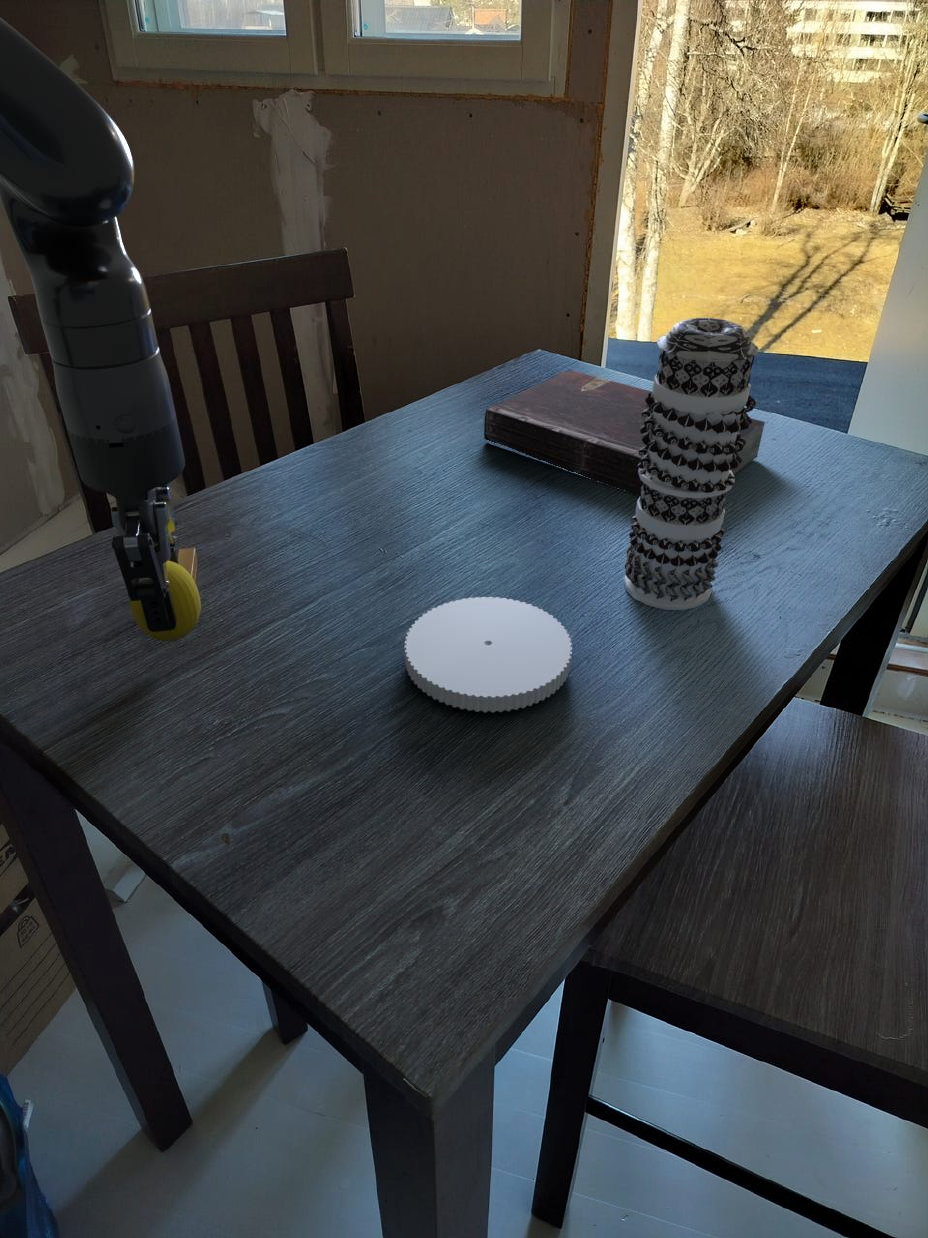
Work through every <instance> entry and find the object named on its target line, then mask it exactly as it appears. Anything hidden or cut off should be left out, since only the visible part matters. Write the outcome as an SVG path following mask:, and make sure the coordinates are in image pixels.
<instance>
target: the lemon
mask: <svg viewBox="0 0 928 1238" xmlns="http://www.w3.org/2000/svg"><path fill="white" fill-rule="evenodd" d="M166 568H167V575H168V581H170V587H169V589H170V593H171V598H172V602H173V606H174V611H175V615H176V619H177V622H176V627H175V629H173V630H168V631H159V632H152V631H150V630H149V629H148V628H147V624H146V620H145V616H144V612H143V608H142V604H141V600H138V601H131V600H130V597H129V596H128V600H129V601H128V603H129V608H130V611H131V615H132V616H133V619H134V621H135V623H136V625H137V626H138V628H139V629H140V630H141V631H142V632H143V633H144V634H146V635H147V636H148V637H151V638H152V639H155V640H158V641H165V642H172V643H173V642H177V641H178V640H180V639H182V638H184V637H185V636H187V635H189V633H191V632H192V631H193V630H194V628H195V627H196V625H197V624H198V622H199V619H200V615H201V611H202V610H201V609H202V603H201V596H200V593H199V589H198V586H197V584H196V582H194V580H193V578H192V576H191V575H190V574H189V572H188V571H187V570H186V569H185V568H184V567H182V566H180V565H179V564H177V563H175V562H172V561H167V562H166ZM142 579H146V578H142Z"/></svg>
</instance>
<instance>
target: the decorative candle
mask: <svg viewBox="0 0 928 1238" xmlns="http://www.w3.org/2000/svg"><path fill="white" fill-rule="evenodd" d="M656 344H657V346H658V348H659V349H660V354H659V357H658V361H657V363H658V370H657V372H656V374H655V376H654V377H653V383H652V391H651V392H652V394H653V396H654V397H651V393H649V394H647V395H646V396H645V402H646V403H647V404H646V409H645V410H643V412H642V417H643V418H644V419H645V420H644V425H643V426H642V427H641V428H640V432H641V434H643V435H642V436H641V440H642V442H643V447H642V448H640V449H639V455H640V456H641V459H640V463H639V464H638V466H637V467H639V470H638V473H639V476H640V479H641V481H643V482H642V485H641V496H639V498H638V499H637V500H636V508H635V515H633V516H632V517H631V519H630V522H631V531H630V532H629V538H630V539H629V544H630V545H629V546H628V547H627V549H626V561H625V562H624V563H625V564H624V568H625V570H624V573H625V574H624V577H623V584H624V589H625V591H626V592H627V593H628V594H629V595H630V596H631V597H632V598H633V599H634V600H636V601H639V602H640V603H642V604H644V605H645V606H648V607H652V608H656V609H661V610H665V611H685V610H686V611H687V610H690V609H694V608H698V607H700V606H702V605H703V604H705V603H706V602H708V601H709V598H710V597H711V594H712V591H713V584H712V582H714V581H716V576H715V574H716V568H718V567H719V562H718V561H717V558H718V557H719V552H720V551H721V550H722V547H723V546H722V544H721V542H722V540H723V538H722V537H724V536H725V533H726V531H725V529H724V528H723V527H724V526H723V525H724V524H723V523H724V517H725V513H726V509H725V503H726V498H727V493H728V492H729V491H731V490H732V488H733V486H734V484H735V480H736V477H735V474H734V475H733V473H732V471H731V469H735V468H737V467H739V464H740V463H741V461H742V458H741V457H740V456H739V454H738V453H737V452H739V451H742V450H743V447H744V446H745V444H746V441H745V439H744V438H742V436H741V435H740V434H739V433H740V432H739V433H737V432H738V431H742V430H745V429H748V428H749V425H750V424H751V423H752V419H753V418H752V419H751V417H750V415H749V414H748V413H751V412H752V411H754V408H755V406H756V405H757V400H756V399H755V398H754V397H752V396H751V394H750V391H751V387H752V386H751V384H750V381H751V376H752V372H753V371H752V370H753V365H754V361H755V356H757V354H758V352H759V351H760V348H759V347H758V346H757V344H756V343H755V342H753V341H751V338H750V336H749V333H748V332H747V331H746V329H745V328H744V327H743V326H742V325H740V324H738V323H736V322H733V321H730V320H726V319H722V318H713V317H695V318H687V319H684V320H681V321H678V322H676V324H674V326H673V327H672V328H671V329H670V331H668V333H666V334H663V335H661V336H660V337H659V338H658V339H657V341H656ZM654 399H655V400H654ZM650 413H653V416H650ZM649 429H651V431H649ZM648 431H649V432H650V435H649V432H648ZM647 450H648V452H647Z"/></svg>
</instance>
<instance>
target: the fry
mask: <svg viewBox="0 0 928 1238" xmlns="http://www.w3.org/2000/svg"><path fill="white" fill-rule="evenodd" d="M177 559H178V563H179V565H180V566H182V567H184V568H185V569H186V570H187V571H188V572H189V574H190V575H191V576H192V578H193V580H194V582H195V583H196V580H197V571H198V570H197V569H198V563H199V562H198V561H199V560H198V555H197V551H196V548H195V547H187V548H179V549H178V552H177Z"/></svg>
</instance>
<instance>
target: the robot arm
mask: <svg viewBox="0 0 928 1238" xmlns="http://www.w3.org/2000/svg"><path fill="white" fill-rule="evenodd" d="M134 164H135V163H134V159H133V155H132V152H131V149H130V146H129V144H128V142H127V140H126V138H125V136H124V134H123V133H122V131H121V129H120V128H119V126H118V125H117V124H116V122H115V121H114V120H113V118H111V116H110V115H109V113H108V112H107V111H106V110H105V109H104V108H103V107H102V105H100V104H99V103H98V102H97V100H95V98H93V97H92V96H91V95H90V94H89V93H88V92H87V91H86V90H85V89H84V88H83V87H82V86H81V85H79V83H77V82H76V81H75V80H74V79H73V78H72V77H71V76H70V75H68V74H67V72H65V71H64V69H62V68H61V67H59V66H58V65H57V64H56V63H55V62H54V61H53V60H51V58H49V57H48V56H47V55H46V54H44V53H43V52H42V51H41V50H40V49H38V47H36V46H35V45H34V44H33V43H32V42H31V41H30V40H28V39H27V38H26V37H25V36H24V35H22V33H20V32H19V31H18V30H16V29H15V28H14V27H13V26H12V25H10V24H9V23H8V22H7V21H5V20H4V19H3V18H2V17H0V202H1V204H2V207H3V210H4V212H5V215H6V218H7V221H8V223H9V225H10V228H11V231H12V233H13V236H14V239H15V241H16V243H17V246H18V249H19V251H20V254H21V256H22V258H23V261H24V262H25V265H26V269H27V270H28V272H29V276H30V280H31V282H32V286H33V290H34V296H35V301H36V306H37V310H38V314H39V318H40V322H41V325H42V329H43V333H44V337H45V340H46V343H47V348H48V351H49V355H50V357H51V364H52V367H53V374H54V375H53V376H54V382H55V389H56V394H57V398H58V401H59V406H60V409H61V413H62V416H63V419H64V423H65V427H66V431H67V434H68V438H69V442H70V446H71V449H72V452H73V456H74V459H75V463H76V466H77V467H76V468H77V470H78V473H79V474H78V475H79V478H80V479H81V481H82V483H83V484H84V485H85V486H86V487H88V488H90V489H92V490H93V491H96V492H101V493H105V494H108V495H109V496H112V497H113V498H115V505H112V506H111V508H110V514H111V521H112V525H113V527H114V529H115V530H116V531H117V535H114V536H112V541H111V548H112V549H113V551H114V555H115V557H116V560H117V563H118V567H119V570H120V572H121V576H122V578H123V581H124V585H125V588H126V590H127V596H128V598H129V597H130V600H131V601H138V600H141V604H142V608H143V612H144V616H145V620H146V624H147V628H148V629H149V630H150V631H152V632H159V631H168V630H173V629H175V627H176V622H177V619H176V615H175V611H174V606H173V602H172V598H171V593H170V589H169V587H170V581H168V575H167V568H166V562H167V561H172V562H175V563H177V564H179V563H178V553H177V550H176V547H177V543H178V538H177V536H176V533H175V531H176V530H177V526H178V519H176V514H175V509H174V504H173V495H172V492H171V487H170V483H171V482H174V481H175V480H176V479H177V478H179V477H180V476H181V474H182V473H183V471H184V469H185V467H186V459H185V455H184V449H183V443H182V439H181V434H180V429H179V423H178V418H177V413H176V409H175V404H174V399H173V393H172V388H171V384H170V379H169V376H168V371H167V369H166V366H165V363H164V361H163V358H162V355H161V351H160V347H159V342H158V338H157V333H156V328H155V327H156V326H155V322H154V317H153V311H152V308H151V303H150V299H149V295H148V290H147V288H146V285H145V282H144V279H143V277H142V275H141V273H140V271H139V269H138V268H137V266H136V265H135V264H134V263H133V261H132V260H131V258H130V256H129V255H128V252H127V250H126V248H125V246H124V242H123V238H122V234H121V229H120V226H119V222H118V218H117V217H118V216H119V215H120V214H121V213H123V211H124V210H125V209H126V207H127V206H128V204H129V202H130V200H131V198H132V195H133V191H134V188H135V180H136V179H135V178H136V177H135V176H136V174H135V165H134ZM142 578H146V579H142Z"/></svg>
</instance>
